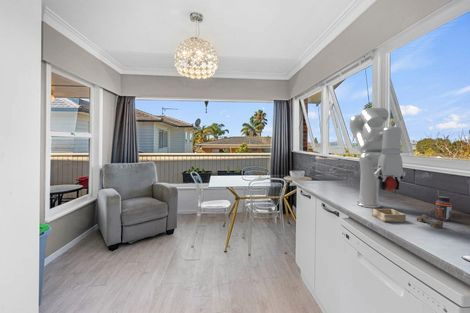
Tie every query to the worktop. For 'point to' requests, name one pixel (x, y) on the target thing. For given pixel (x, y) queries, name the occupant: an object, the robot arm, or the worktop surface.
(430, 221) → the gray square bar
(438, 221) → the clip
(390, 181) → the onion
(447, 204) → the supplement bottle
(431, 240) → the worktop surface
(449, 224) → the worktop surface
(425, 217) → the clip
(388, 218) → the wooden tray
